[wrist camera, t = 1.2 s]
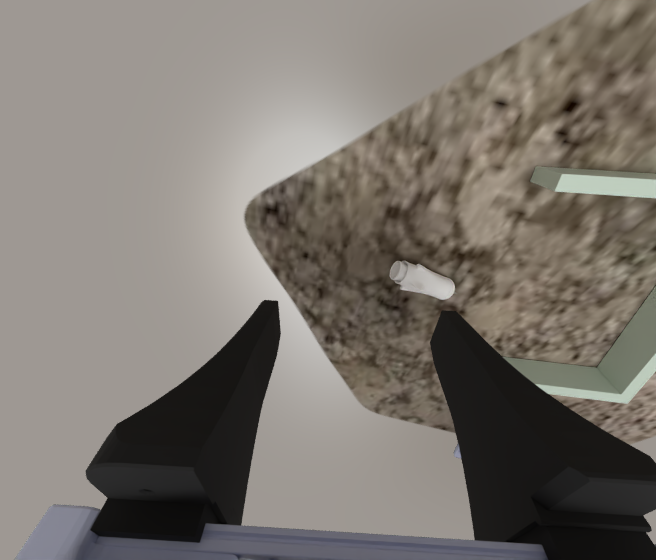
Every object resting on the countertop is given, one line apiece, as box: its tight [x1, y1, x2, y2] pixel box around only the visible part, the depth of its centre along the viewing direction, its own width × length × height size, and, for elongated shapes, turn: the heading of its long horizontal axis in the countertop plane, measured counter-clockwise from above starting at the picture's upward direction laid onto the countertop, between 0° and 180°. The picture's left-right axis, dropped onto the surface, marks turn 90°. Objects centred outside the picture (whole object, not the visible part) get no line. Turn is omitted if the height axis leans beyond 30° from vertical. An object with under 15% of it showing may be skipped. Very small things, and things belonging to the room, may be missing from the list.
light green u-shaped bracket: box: [503, 166, 656, 404], centre depth 22 cm, size 18×13×3 cm
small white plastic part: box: [390, 261, 455, 300], centre depth 23 cm, size 4×6×3 cm, turn 41°
